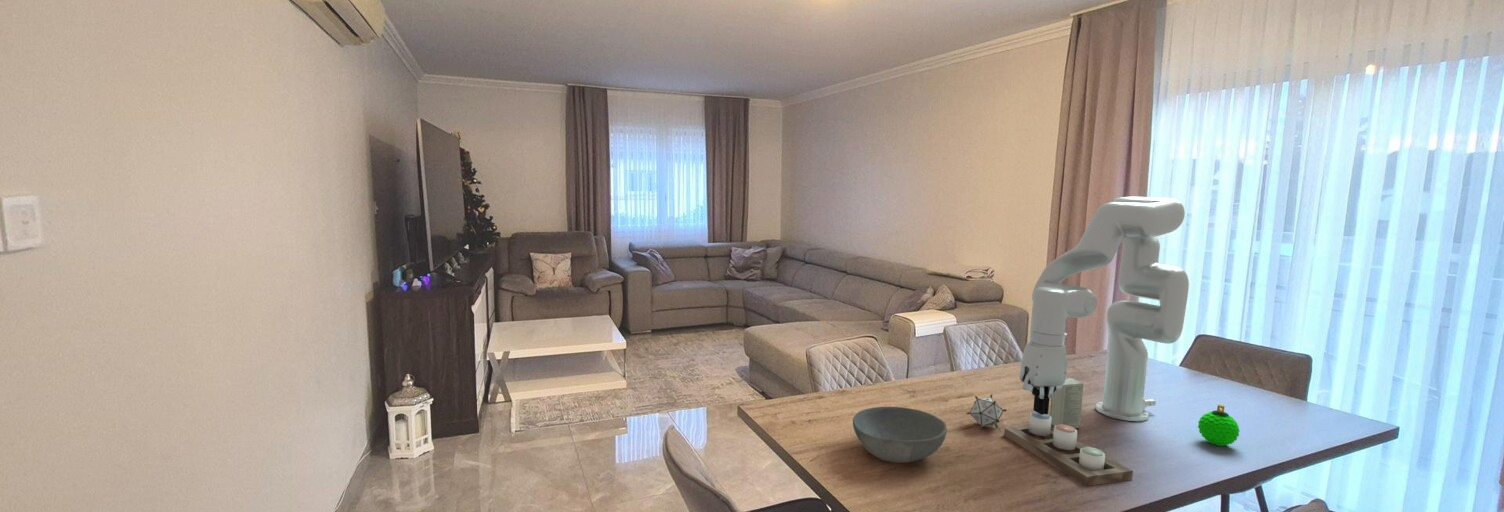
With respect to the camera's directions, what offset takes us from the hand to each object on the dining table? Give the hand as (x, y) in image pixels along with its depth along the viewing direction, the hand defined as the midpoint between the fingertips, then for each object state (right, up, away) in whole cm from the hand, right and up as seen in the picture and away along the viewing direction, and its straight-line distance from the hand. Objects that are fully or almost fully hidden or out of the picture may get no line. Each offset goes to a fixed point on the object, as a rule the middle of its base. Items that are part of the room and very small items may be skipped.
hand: (1040, 412), depth 148 cm
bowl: (-37, -8, -8) cm, 39 cm away
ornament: (+44, -9, +2) cm, 45 cm away
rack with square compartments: (+2, -8, -7) cm, 11 cm away
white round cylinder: (+4, -9, -14) cm, 17 cm away
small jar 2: (+2, -6, -7) cm, 9 cm away
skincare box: (+12, -7, +11) cm, 18 cm away
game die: (-10, -6, +10) cm, 15 cm away
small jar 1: (0, -5, +1) cm, 5 cm away
